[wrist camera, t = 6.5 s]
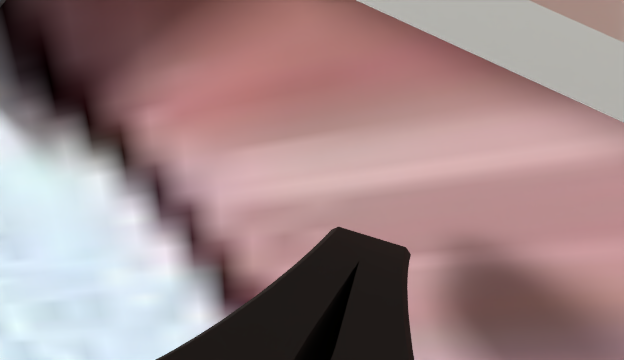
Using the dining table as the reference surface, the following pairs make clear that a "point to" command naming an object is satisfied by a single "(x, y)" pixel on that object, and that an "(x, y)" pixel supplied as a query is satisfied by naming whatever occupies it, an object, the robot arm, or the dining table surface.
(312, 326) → the robot arm
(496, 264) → the dining table surface
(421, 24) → the side door
